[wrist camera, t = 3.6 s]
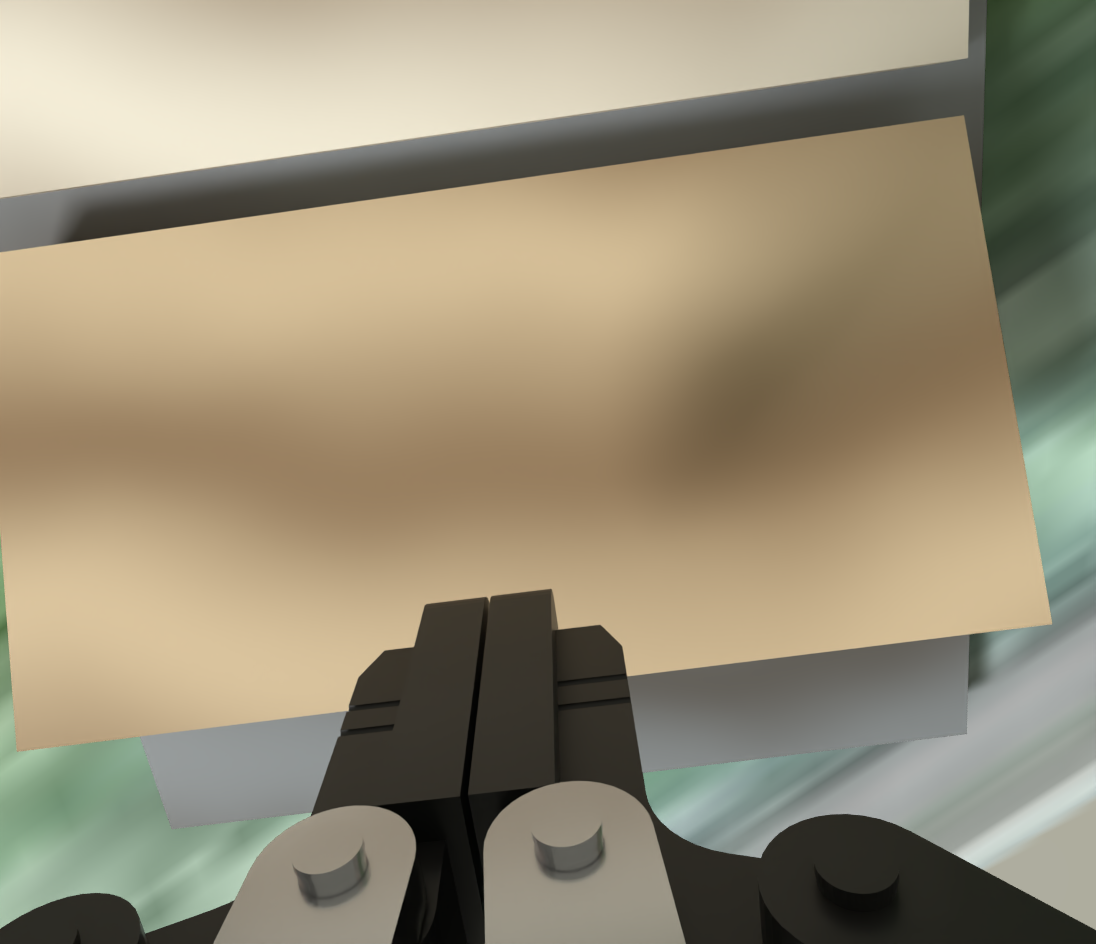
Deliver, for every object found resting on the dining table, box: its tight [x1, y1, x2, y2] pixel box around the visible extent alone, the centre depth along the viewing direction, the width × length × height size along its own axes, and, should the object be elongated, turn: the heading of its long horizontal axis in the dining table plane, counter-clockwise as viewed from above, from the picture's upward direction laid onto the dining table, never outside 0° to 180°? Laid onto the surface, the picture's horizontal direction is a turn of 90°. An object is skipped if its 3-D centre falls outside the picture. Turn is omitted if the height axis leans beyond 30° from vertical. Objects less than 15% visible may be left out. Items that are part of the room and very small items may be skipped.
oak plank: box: [0, 115, 1052, 752], centre depth 15 cm, size 8×16×2 cm, turn 98°
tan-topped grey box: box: [0, 0, 987, 829], centre depth 17 cm, size 22×18×3 cm
